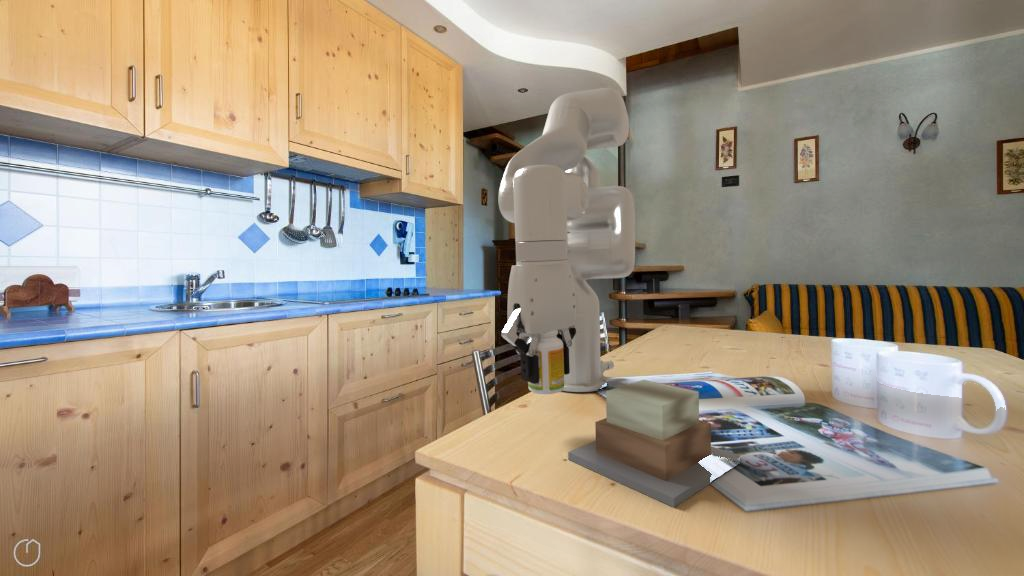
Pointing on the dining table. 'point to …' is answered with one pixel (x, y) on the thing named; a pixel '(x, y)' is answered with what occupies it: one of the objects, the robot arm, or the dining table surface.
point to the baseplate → (647, 484)
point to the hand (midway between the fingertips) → (545, 375)
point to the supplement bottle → (549, 364)
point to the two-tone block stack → (653, 428)
